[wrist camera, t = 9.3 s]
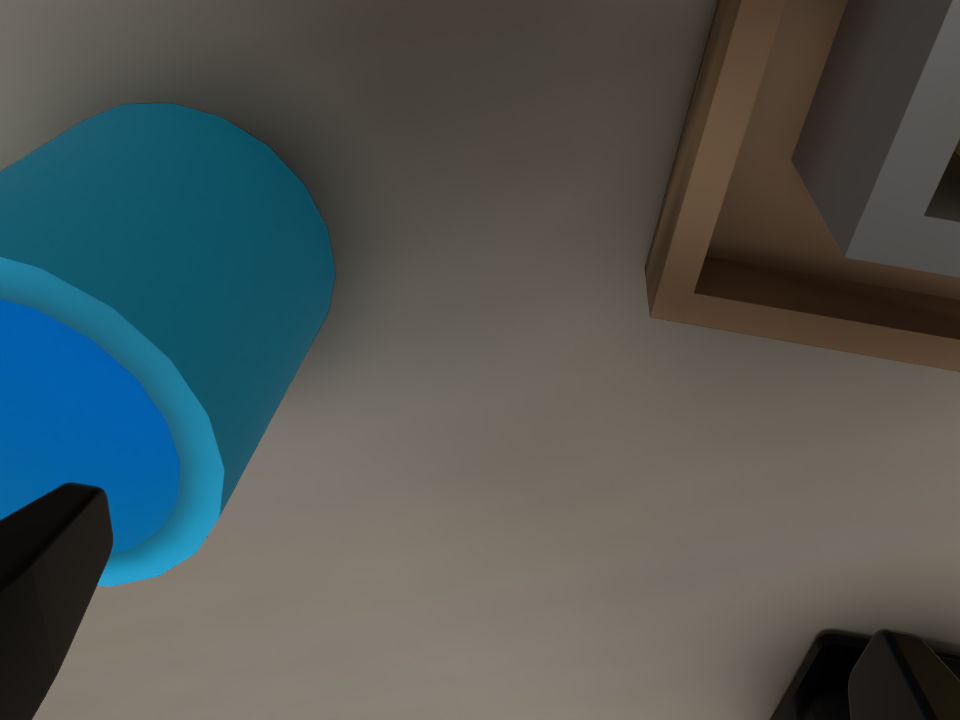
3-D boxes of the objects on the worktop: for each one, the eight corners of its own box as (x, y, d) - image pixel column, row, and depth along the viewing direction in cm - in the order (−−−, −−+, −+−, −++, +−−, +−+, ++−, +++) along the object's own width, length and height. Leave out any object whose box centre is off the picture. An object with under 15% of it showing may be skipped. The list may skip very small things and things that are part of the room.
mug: (335, 124, 21) (206, 280, 14) (335, 394, 25) (238, 612, 18) (-137, 61, 21) (-485, 183, 14) (-53, 337, 26) (-288, 529, 19)
